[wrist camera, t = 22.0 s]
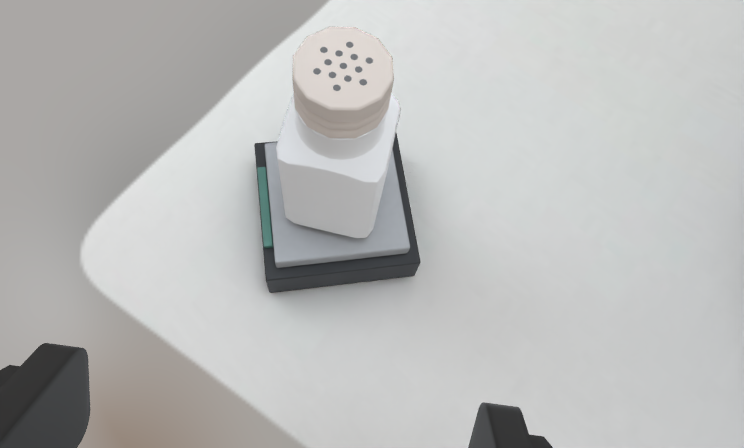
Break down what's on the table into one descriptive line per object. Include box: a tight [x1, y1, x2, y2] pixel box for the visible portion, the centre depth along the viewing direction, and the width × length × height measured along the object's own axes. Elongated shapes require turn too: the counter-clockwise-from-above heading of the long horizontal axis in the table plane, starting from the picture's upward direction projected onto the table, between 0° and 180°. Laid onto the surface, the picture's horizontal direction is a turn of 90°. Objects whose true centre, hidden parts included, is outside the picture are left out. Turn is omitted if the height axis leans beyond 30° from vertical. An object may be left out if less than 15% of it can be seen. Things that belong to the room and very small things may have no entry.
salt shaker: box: [276, 27, 401, 238], centre depth 23 cm, size 4×4×10 cm
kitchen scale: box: [255, 134, 420, 293], centre depth 28 cm, size 7×7×3 cm
